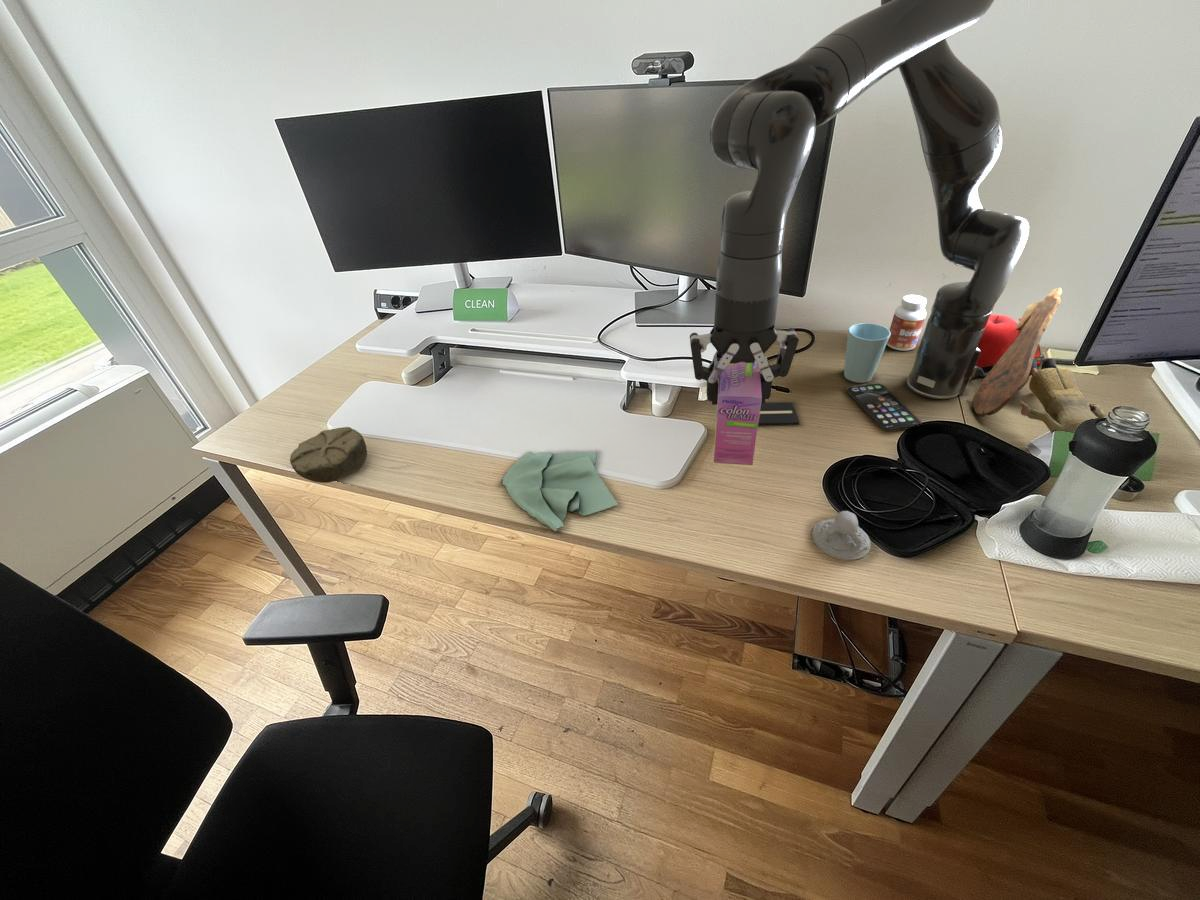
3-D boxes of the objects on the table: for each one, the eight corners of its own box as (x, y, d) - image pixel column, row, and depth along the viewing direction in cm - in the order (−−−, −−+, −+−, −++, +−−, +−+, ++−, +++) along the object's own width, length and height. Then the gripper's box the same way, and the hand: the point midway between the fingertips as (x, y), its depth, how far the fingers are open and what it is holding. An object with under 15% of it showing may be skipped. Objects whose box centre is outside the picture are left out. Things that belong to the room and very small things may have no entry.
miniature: (872, 527, 79) (880, 505, 76) (868, 566, 74) (877, 543, 71) (815, 514, 82) (821, 492, 79) (808, 550, 77) (814, 528, 74)
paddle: (956, 410, 100) (1029, 296, 106) (970, 421, 100) (1042, 307, 106) (993, 401, 92) (1070, 277, 97) (1008, 413, 92) (1084, 289, 97)
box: (753, 466, 75) (762, 396, 68) (713, 463, 76) (716, 395, 69) (752, 423, 83) (759, 356, 75) (715, 421, 84) (719, 356, 77)
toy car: (1046, 366, 109) (1026, 371, 111) (1038, 346, 111) (1020, 351, 113) (1038, 332, 101) (1018, 338, 103) (1031, 312, 104) (1011, 318, 106)
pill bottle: (894, 353, 118) (908, 306, 111) (880, 340, 123) (893, 294, 116) (921, 350, 118) (937, 302, 111) (906, 337, 123) (920, 291, 116)
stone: (373, 437, 99) (384, 459, 102) (339, 417, 106) (350, 438, 109) (307, 476, 91) (320, 498, 95) (276, 451, 99) (290, 473, 102)
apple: (979, 348, 116) (998, 301, 109) (1017, 368, 109) (1040, 319, 102) (940, 357, 114) (958, 310, 108) (976, 378, 107) (997, 329, 100)
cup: (870, 389, 107) (882, 343, 101) (832, 379, 112) (842, 334, 105) (883, 373, 112) (896, 328, 105) (846, 364, 116) (857, 319, 109)
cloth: (518, 448, 102) (515, 438, 100) (630, 454, 97) (629, 444, 96) (479, 526, 86) (476, 515, 85) (610, 537, 82) (609, 526, 80)
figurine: (993, 390, 104) (1050, 510, 84) (1012, 351, 97) (1078, 471, 77) (1061, 390, 101) (1136, 515, 81) (1084, 350, 94) (1173, 475, 74)
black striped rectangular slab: (791, 404, 106) (792, 401, 105) (799, 424, 100) (799, 422, 100) (735, 405, 107) (736, 402, 107) (740, 425, 102) (740, 423, 101)
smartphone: (881, 382, 108) (923, 424, 96) (880, 385, 108) (922, 427, 96) (845, 387, 108) (884, 429, 96) (845, 389, 108) (883, 432, 96)
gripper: (801, 271, 66) (784, 385, 77) (686, 278, 68) (684, 388, 79) (815, 295, 61) (794, 415, 71) (689, 302, 62) (687, 417, 73)
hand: (737, 400), depth 75 cm, fingers closed on box, 6 cm apart
